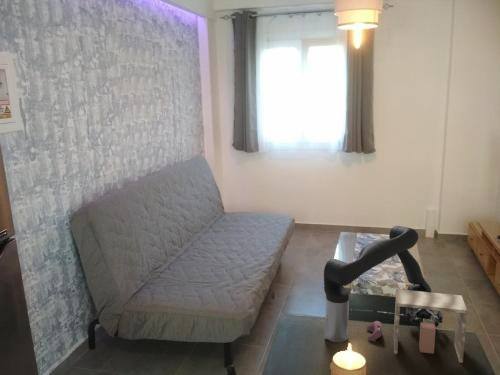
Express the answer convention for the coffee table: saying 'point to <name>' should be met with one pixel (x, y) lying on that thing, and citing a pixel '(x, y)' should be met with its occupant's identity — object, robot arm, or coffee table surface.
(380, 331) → the mauve looped ornament
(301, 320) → the coffee table surface
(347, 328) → the robot arm
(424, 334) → the terracotta block
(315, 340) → the coffee table surface
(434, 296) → the clear acrylic riser
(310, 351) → the coffee table surface
